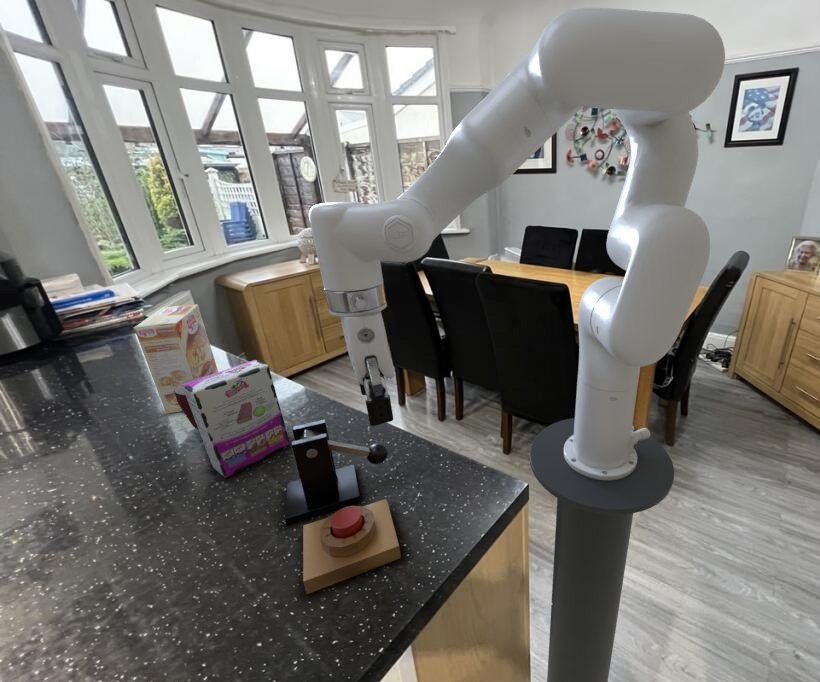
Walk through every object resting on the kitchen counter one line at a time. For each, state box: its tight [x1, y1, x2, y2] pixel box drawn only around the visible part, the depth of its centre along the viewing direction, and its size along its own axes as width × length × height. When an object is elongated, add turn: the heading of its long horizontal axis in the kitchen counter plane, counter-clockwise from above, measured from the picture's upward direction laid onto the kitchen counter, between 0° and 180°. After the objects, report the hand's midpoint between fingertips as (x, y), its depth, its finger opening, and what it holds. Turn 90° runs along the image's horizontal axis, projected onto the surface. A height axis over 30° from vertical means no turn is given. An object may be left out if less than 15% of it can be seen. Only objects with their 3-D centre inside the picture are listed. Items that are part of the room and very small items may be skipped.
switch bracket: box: [284, 419, 362, 526], centre depth 59 cm, size 10×8×12 cm
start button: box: [331, 506, 363, 539], centre depth 51 cm, size 4×4×2 cm
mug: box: [174, 375, 209, 431], centre depth 77 cm, size 11×8×10 cm
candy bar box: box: [182, 359, 291, 479], centre depth 67 cm, size 11×5×16 cm, turn 147°
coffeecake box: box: [133, 303, 219, 415], centre depth 86 cm, size 15×7×20 cm, turn 22°
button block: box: [302, 498, 402, 595], centre depth 52 cm, size 11×9×4 cm
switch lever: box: [300, 430, 388, 465], centre depth 60 cm, size 13×3×3 cm
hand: (376, 406), depth 60 cm, fingers open, 9 cm apart
